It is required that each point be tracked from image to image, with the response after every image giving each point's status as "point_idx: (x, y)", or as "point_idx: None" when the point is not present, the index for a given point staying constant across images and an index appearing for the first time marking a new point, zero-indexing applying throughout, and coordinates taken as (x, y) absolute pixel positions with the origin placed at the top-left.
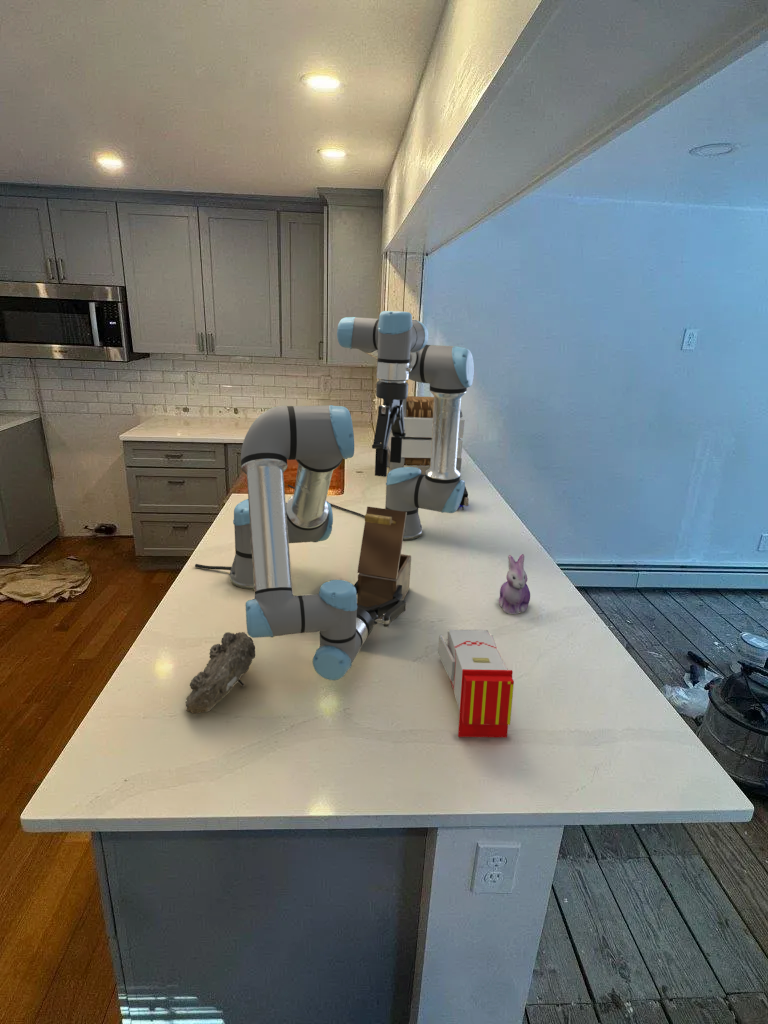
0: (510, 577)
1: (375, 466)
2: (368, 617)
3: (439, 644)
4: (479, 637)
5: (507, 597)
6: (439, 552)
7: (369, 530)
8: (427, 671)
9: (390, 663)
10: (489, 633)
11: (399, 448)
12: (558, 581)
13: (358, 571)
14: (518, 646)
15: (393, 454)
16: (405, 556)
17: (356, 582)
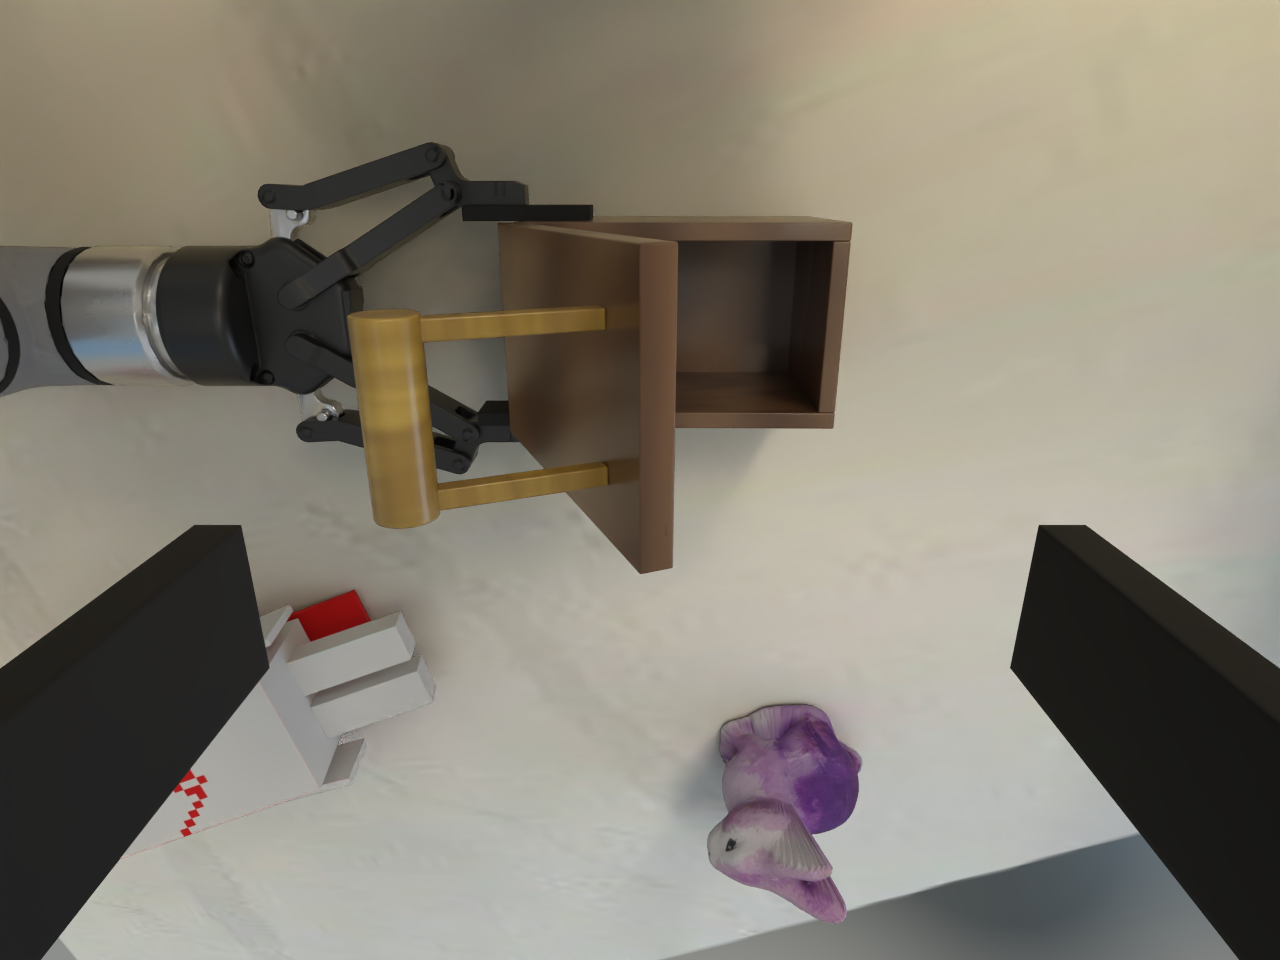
0: (736, 832)
1: (106, 597)
2: (220, 379)
3: (266, 627)
4: (240, 779)
5: (728, 767)
6: (1230, 429)
7: (572, 279)
8: (279, 557)
9: (261, 443)
10: (291, 798)
11: (1151, 820)
12: (1013, 858)
13: (499, 229)
14: (532, 768)
15: (1101, 639)
16: (818, 401)
17: (539, 207)
